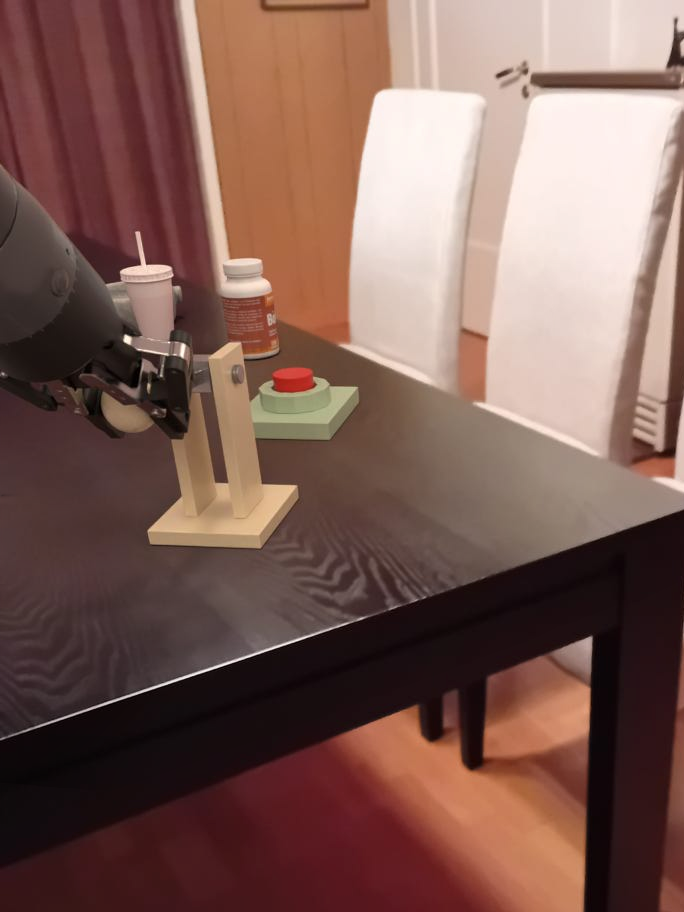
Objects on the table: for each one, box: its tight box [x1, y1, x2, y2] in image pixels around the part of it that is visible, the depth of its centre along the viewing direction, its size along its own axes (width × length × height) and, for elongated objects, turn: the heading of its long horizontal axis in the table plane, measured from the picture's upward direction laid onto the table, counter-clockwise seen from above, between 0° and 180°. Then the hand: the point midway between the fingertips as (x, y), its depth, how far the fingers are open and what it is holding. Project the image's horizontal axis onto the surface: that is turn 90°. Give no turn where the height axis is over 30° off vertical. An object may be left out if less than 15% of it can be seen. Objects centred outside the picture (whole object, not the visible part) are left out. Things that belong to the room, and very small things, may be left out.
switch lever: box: [101, 353, 214, 434], centre depth 70 cm, size 15×4×4 cm, turn 172°
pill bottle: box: [219, 257, 280, 360], centre depth 123 cm, size 6×6×11 cm
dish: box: [105, 280, 183, 328], centre depth 140 cm, size 14×14×5 cm
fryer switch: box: [146, 342, 300, 549], centre depth 78 cm, size 10×9×14 cm
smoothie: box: [119, 230, 175, 340], centre depth 127 cm, size 6×6×14 cm
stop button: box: [272, 366, 314, 393], centre depth 102 cm, size 4×4×2 cm
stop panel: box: [250, 376, 360, 441], centre depth 103 cm, size 12×10×4 cm
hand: (149, 425), depth 68 cm, fingers closed on switch lever, 3 cm apart
